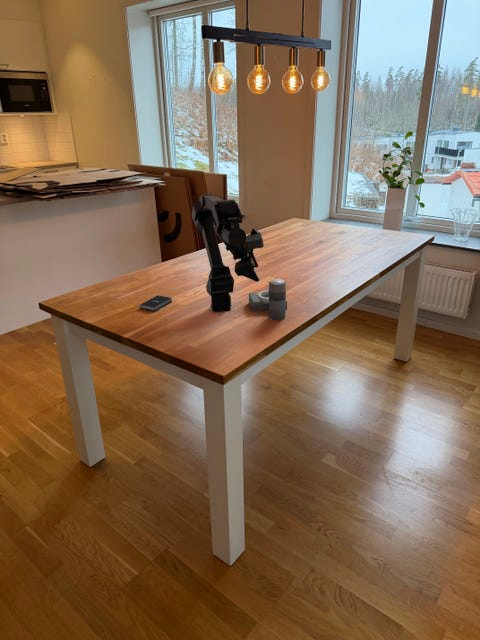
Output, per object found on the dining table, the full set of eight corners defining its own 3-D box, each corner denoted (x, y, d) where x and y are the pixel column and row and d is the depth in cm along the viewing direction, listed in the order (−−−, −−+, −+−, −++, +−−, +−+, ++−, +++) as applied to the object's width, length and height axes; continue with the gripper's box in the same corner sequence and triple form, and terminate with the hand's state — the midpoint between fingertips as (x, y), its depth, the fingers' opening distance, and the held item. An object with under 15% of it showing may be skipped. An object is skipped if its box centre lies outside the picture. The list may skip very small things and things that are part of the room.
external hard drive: (172, 302, 167) (172, 297, 166) (154, 313, 158) (153, 308, 157) (158, 300, 170) (157, 295, 169) (139, 310, 161) (138, 305, 160)
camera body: (253, 312, 156) (253, 300, 154) (249, 303, 164) (248, 291, 162) (286, 309, 158) (287, 297, 156) (280, 300, 166) (280, 289, 164)
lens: (270, 321, 149) (270, 285, 144) (266, 314, 154) (266, 279, 149) (287, 319, 150) (288, 283, 144) (283, 312, 155) (283, 277, 150)
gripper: (253, 238, 131) (280, 276, 138) (252, 213, 146) (276, 248, 153) (222, 257, 134) (250, 293, 142) (224, 230, 149) (249, 264, 157)
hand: (257, 273), depth 149 cm, fingers open, 9 cm apart
